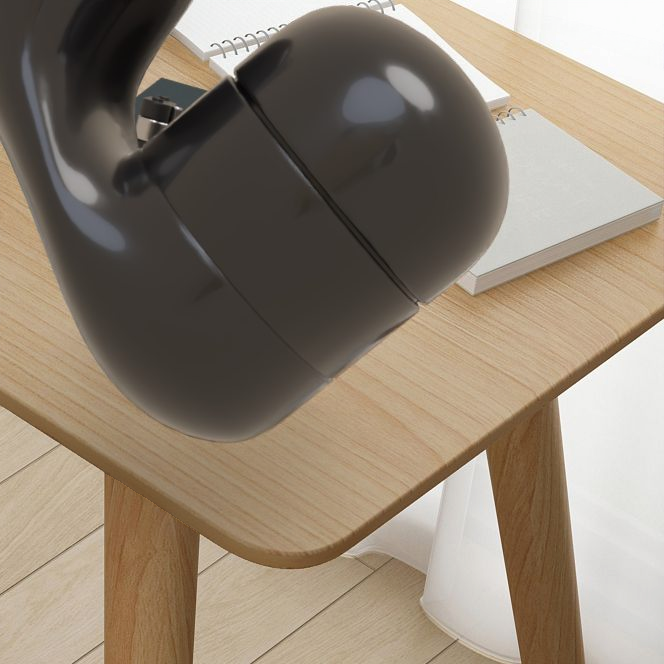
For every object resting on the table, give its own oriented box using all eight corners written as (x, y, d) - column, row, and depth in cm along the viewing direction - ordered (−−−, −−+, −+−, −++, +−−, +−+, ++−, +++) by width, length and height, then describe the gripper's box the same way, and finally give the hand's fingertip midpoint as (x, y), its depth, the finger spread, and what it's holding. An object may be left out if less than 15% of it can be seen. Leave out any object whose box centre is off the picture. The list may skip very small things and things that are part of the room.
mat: (83, 144, 89) (82, 137, 89) (161, 83, 97) (161, 77, 97) (212, 185, 86) (211, 177, 86) (282, 118, 94) (282, 111, 93)
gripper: (507, 137, 44) (453, 128, 60) (129, 24, 43) (177, 46, 59) (446, 330, 45) (409, 271, 61) (78, 225, 44) (138, 193, 60)
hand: (295, 161), depth 60 cm, fingers open, 8 cm apart
